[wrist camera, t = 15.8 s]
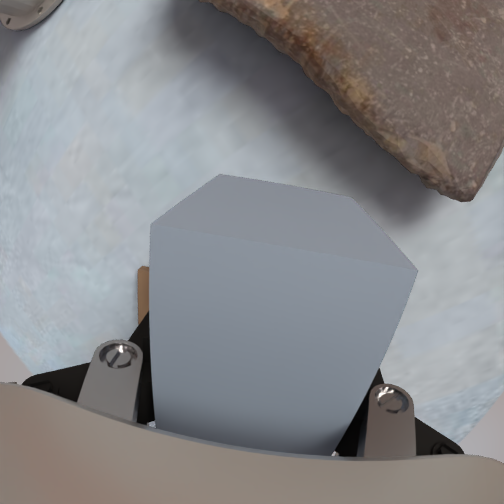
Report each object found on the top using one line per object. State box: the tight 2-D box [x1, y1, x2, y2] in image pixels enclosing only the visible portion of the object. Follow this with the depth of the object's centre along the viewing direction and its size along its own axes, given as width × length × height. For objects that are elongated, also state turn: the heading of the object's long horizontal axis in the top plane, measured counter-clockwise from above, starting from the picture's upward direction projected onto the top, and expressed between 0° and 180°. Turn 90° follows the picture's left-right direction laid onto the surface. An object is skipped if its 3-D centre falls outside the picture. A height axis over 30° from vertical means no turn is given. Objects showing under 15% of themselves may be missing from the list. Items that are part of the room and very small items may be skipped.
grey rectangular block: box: [149, 174, 418, 456], centre depth 10 cm, size 4×10×6 cm, turn 171°
